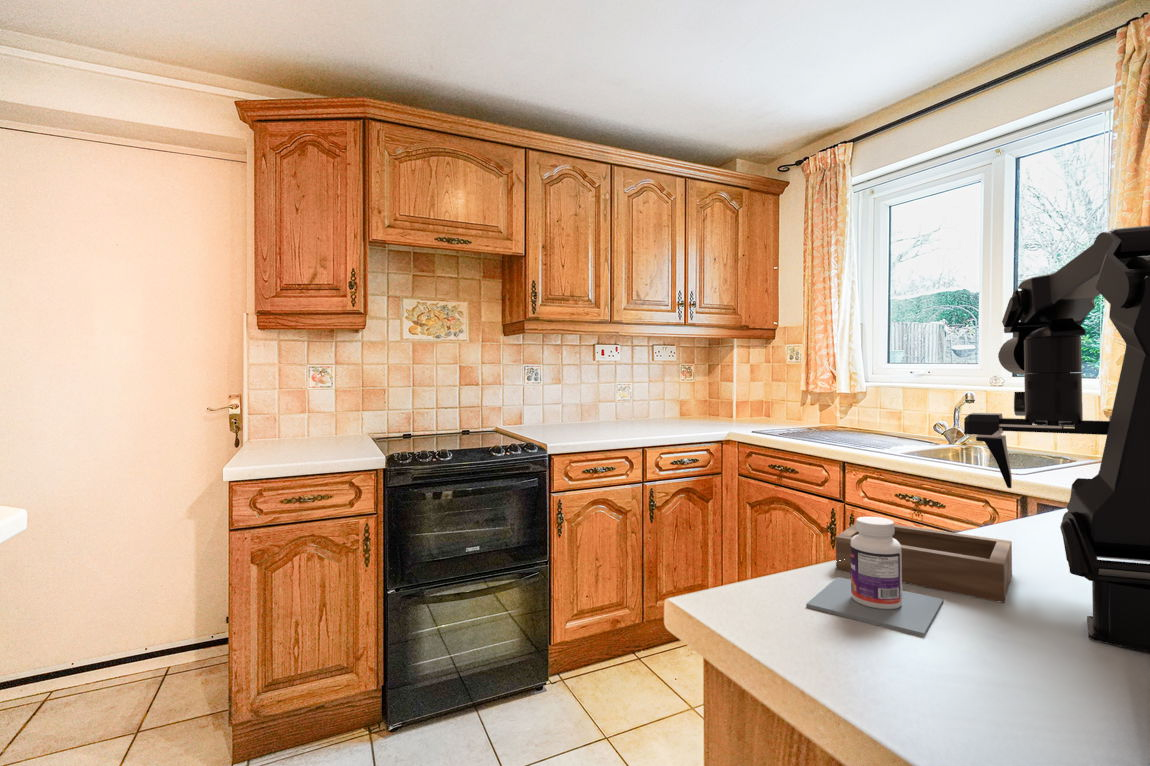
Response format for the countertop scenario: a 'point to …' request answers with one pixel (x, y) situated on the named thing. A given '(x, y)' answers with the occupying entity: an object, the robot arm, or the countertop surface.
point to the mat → (905, 618)
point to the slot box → (945, 561)
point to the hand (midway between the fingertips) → (1054, 491)
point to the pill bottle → (876, 564)
